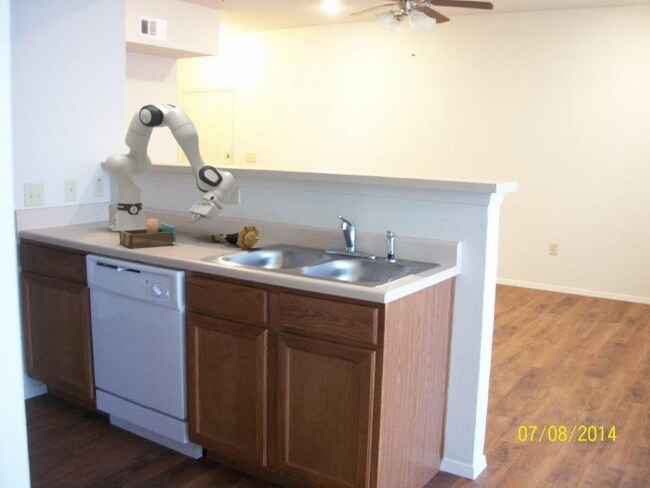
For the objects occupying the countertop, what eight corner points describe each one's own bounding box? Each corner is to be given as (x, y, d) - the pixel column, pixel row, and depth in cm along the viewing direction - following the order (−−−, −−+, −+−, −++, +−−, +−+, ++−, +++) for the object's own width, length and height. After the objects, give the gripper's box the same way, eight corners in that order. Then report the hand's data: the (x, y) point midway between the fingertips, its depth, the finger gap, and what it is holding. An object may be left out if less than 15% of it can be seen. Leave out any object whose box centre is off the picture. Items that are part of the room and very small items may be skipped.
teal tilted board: (122, 240, 279) (122, 225, 278) (163, 237, 290) (163, 223, 289) (134, 245, 267) (133, 229, 266) (176, 242, 278) (176, 227, 277)
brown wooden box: (119, 244, 278) (119, 230, 277) (161, 241, 289) (160, 228, 288) (130, 248, 267) (129, 234, 266) (172, 245, 278) (172, 232, 277)
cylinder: (145, 238, 280) (145, 218, 279) (156, 237, 283) (156, 218, 281) (148, 239, 276) (148, 219, 275) (159, 239, 279) (159, 219, 277)
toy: (231, 227, 298) (269, 224, 276) (233, 248, 299) (271, 246, 277) (199, 229, 286) (237, 226, 264) (201, 251, 287) (239, 250, 265)
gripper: (198, 194, 301) (179, 215, 297) (216, 198, 284) (197, 220, 280) (206, 203, 304) (187, 224, 300) (225, 207, 288) (206, 230, 284)
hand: (192, 222), depth 290 cm, fingers closed
